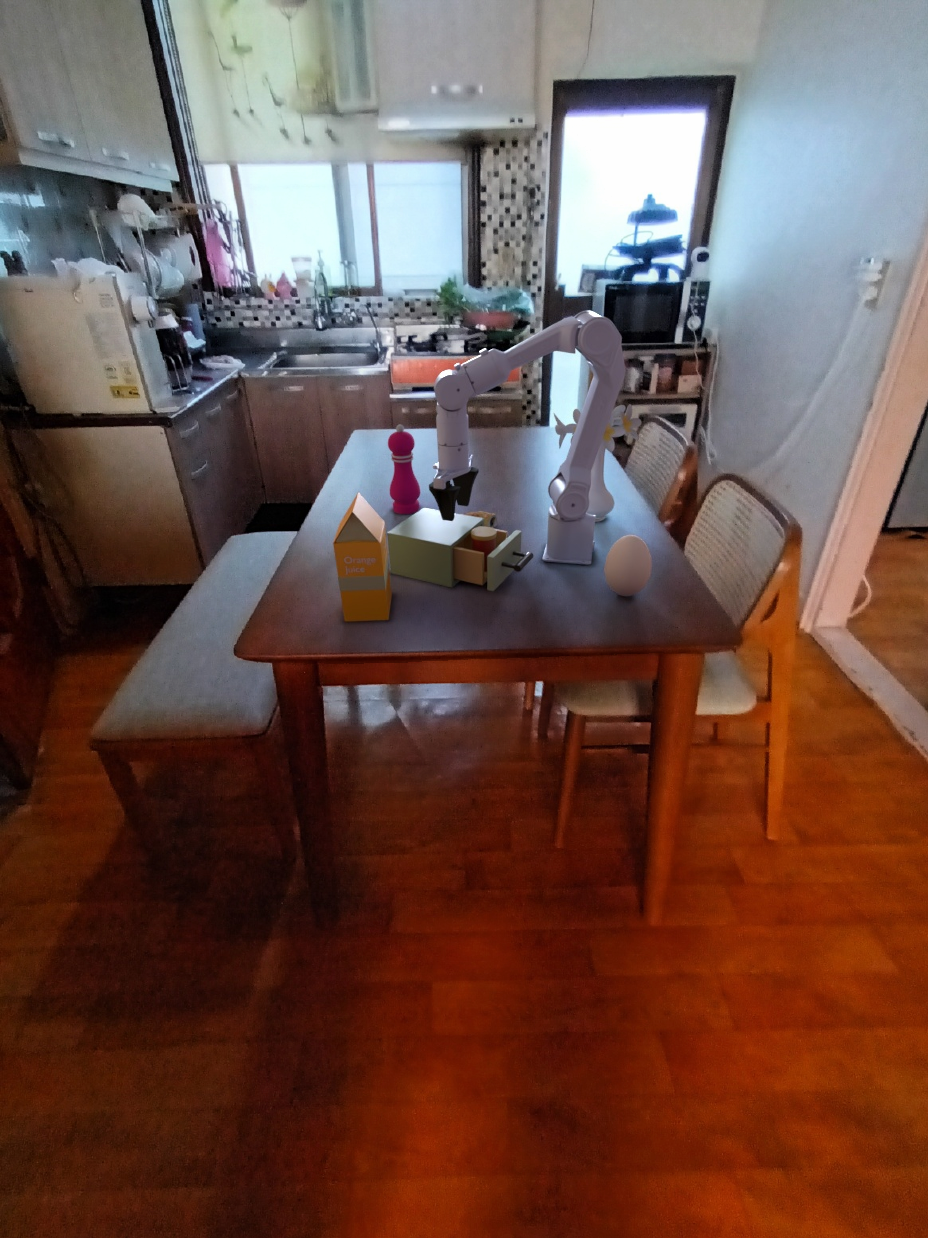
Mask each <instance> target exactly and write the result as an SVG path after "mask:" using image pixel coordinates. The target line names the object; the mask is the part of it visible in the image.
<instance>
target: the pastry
mask: <svg viewBox="0 0 928 1238" xmlns="http://www.w3.org/2000/svg"><path fill="white" fill-rule="evenodd" d="M461 514H462V515H468V516H473V517H479V518H484V526H485V527H491V528H494V529H495V528H496V527H497V525H498V523H499V522H498V517H497V515H496V513H494V512H492V513H490V512H486V511H483V510H478V511H468V512H464V513H461Z"/></svg>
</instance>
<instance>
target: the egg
mask: <svg viewBox="0 0 928 1238" xmlns="http://www.w3.org/2000/svg"><path fill="white" fill-rule="evenodd" d="M652 563H653V562H652V556H651V552H650V548H649V547H648V546H647V544H646V542H645V541H644V539H642V538H641V537H640V536H638V535H635V534H626V535H623V536H621V537H620V538H619V539H618V540H616V541H615V542H614V544H613V545H612V546H611V547H610V549H609V551H608V553H607V555H606V558H605V562H604V571H603V572H604V577H605V581H606V583H607V586H608V587H609V589H610V590H612V591H613V592H614V593H615V594H617V595H619V596H622V597H630V596H634V595H636V594H638V593H639V592H640V591H642V590H643V589H644V588H645V587H646V586H647V584H648V582H649V581H650V577H651V574H652V568H653V567H652V566H653V564H652Z"/></svg>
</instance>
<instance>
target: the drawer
mask: <svg viewBox="0 0 928 1238" xmlns="http://www.w3.org/2000/svg"><path fill="white" fill-rule="evenodd" d="M479 527H483V526H479ZM494 529H495V530H496V531H497V536H496V549H495V550H494V551H493V552H491V553H490V554H489V555H488V556H487V571H486V572H484V552H479V551H474V550H472V537H471V533H470V534H469V535H468V536H466V537H465V538H464V539H463V540H462V541H460V542H459V543H458V544H457V545H455V546H454V547H453V575H454V579H458V580H460V581H461V582H466V583H471V584H475V585H479V586H484V584H486V583H487V585H486V586H487V588H486V589H487V591H491V592H494V591H496V589H497V588H498V587H499V586H500V585H501V584H502V583H503V582H504V581H505V580H506V579H507V578H508V577H509V576H510V575H511V573H513V571H515V572H516V573H520V572H522V570H523V569H524V568H525V567H526V566H527V565H528V563H530V562H531V561H532V559H534V554H533V552H532V551H527V552H522V530H518V529H515V530H514V531H513V532H512V533H511V534H510V535H509V531H508V530H504V529H498V528H494Z"/></svg>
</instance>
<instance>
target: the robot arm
mask: <svg viewBox="0 0 928 1238" xmlns="http://www.w3.org/2000/svg"><path fill="white" fill-rule="evenodd" d="M622 339H623V337H622V334H621V333H620V332H619V329H618V328H617V327H616V325H615V324H614V323H613V321H612V320H611V319H610V318H608V317H606V316H602V315H599V314H598V313H597V312H595V311H593V310H583V311H580V312H578V313H577V314H576V315H574V316H568V317H565V318H563V319H561V320H559V321H557V322H555V323H553V324H551V325H550V326H548V327H546V328H544V329H542V330H541V331H539V332H537V333H535V334H533V335H532V336H530V337H527V339H524V340H522V341H521V342H519V343H518V344H516V345H514V346H512V347H510V348H508V349H507V350H505V351H501V350H499V349H496V348H492V349H490V350H488V349H487V348H486V347H484V348H482V349H481V350H479V355H477V356H476V357H474V358H471V359H470V360H467V361H466V362H463V363H462V364H460V362H458V363H456V364H454V365H453V367H454V369H445V370H444V371H441V372H440V373H439V374H438V376H437V377H436V378H435V381H434V386H433V392H434V397H435V400H436V406H435V410H436V411H435V412H436V416H435V424H436V441H437V459H438V460H437V462H435V463H434V464H433V465H432V469H434V470H436V472H435V476H433V478H432V481H431V482H430V483H429V484H428V491H429V492H430V493H431V495H432V497H433V498H434V500H435V502H436V504H437V507H438V510H440V514H441V517H442V520H447V521H453V520H454V516H455V513H456V504H457V505H458V506H461V507H469V505H470V501H471V497H472V496H471V495H472V491H473V486H474V484H475V481H476V478H477V477H478V474H479V471H480V470H479V467H477V466H476V467H475V466H473V465H474V454H470V435H469V434H470V432H469V415H468V409H467V408H468V407H467V404H468V402H469V400H470V398H476V397H477V396H480V395H482V394H484V393H486V392H488V391H490V390H492V389H495V388H496V387H498V386H500V385H502V384H504V383H506V382H507V381H508V379H509V377H510V375H511V373H512V371H513V370H515V369H518V368H520V367H522V366H525V365H528V364H529V363H531V362H533V361H536V360H538V359H541V358H542V357H544V356H547V355H550V354H551V353H552V354H553V353H554V352H562V353H567V354H574V355H576V350H577V352H578V353H580V354H581V355H582V356H583V357H584V359H585V361H586V363H587V365H588V367H589V369H590V370H591V373H592V379H591V382H590V385H589V387H588V391H587V394H586V398H585V400H584V403H583V406H582V409H581V411H580V413H581V415H580V418H579V421H578V424H577V427H576V430H575V433H574V434H573V435H574V436H573V435H572V436H573V439H572V442H571V441H570V445H569V448H568V452H567V455H566V458H565V460H564V461H563V462H562V464H561V465H559V467H558V471H557V473H556V474H555V475H554V476H553V477H552V479H551V480H550V481H549V484H548V487H547V493H548V495H549V498H550V499H551V501H552V503H551V505H550V507H548V508H549V509H548V513H547V531H546V532H547V534H546V544H545V548H544V551H543V556H542V560H541V561H542V562H547V563H550V562H551V563H559V564H560V563H561V564H573V565H585V566H589V565H592V559H593V552H595V548H596V547H595V546H596V542H595V541H594V539H595V528H596V522H595V519H596V515H592V514H588V513H586V512H587V510H588V508H589V491H590V488H591V470H592V467H593V464H594V461H595V458H596V456H597V453H598V450H599V447H600V444H601V442H602V439H603V436H604V433H605V430H606V427H607V425H608V422H609V419H610V416H611V413H612V411H613V410H614V409H615V408H614V407H615V405H616V402H617V399H618V397H619V394H620V390H621V388H622V385H623V382H624V379H625V376H626V373H627V372H626V371H627V370H626V364H625V358H624V352H623V347H622V341H623V340H622ZM451 481H452V483H451Z"/></svg>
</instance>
